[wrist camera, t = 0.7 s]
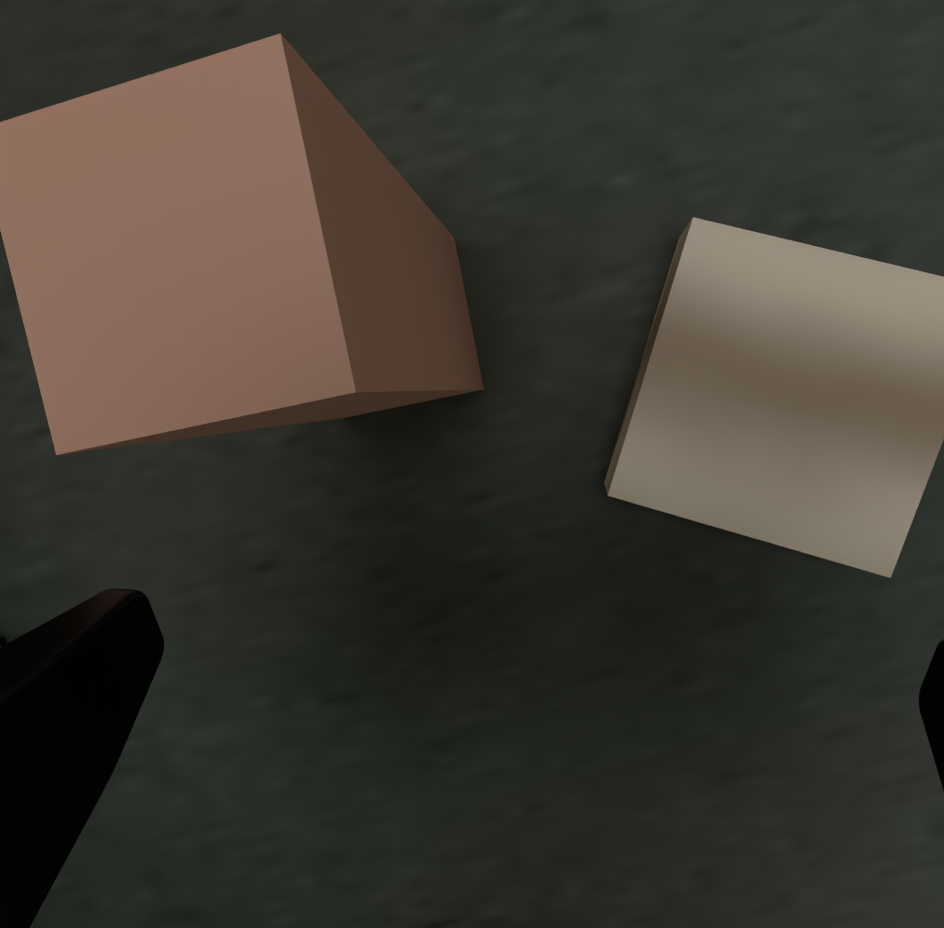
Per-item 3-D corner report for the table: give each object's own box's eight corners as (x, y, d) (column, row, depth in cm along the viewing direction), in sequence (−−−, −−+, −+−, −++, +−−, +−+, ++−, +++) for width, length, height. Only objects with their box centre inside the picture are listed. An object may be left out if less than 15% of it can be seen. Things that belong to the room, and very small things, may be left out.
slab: (847, 551, 22) (890, 578, 19) (603, 481, 23) (607, 495, 20) (939, 303, 20) (1000, 290, 17) (677, 240, 21) (692, 217, 18)
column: (484, 389, 22) (355, 392, 10) (343, 417, 23) (56, 455, 11) (454, 238, 22) (280, 33, 9) (312, 273, 23) (-24, 130, 10)
